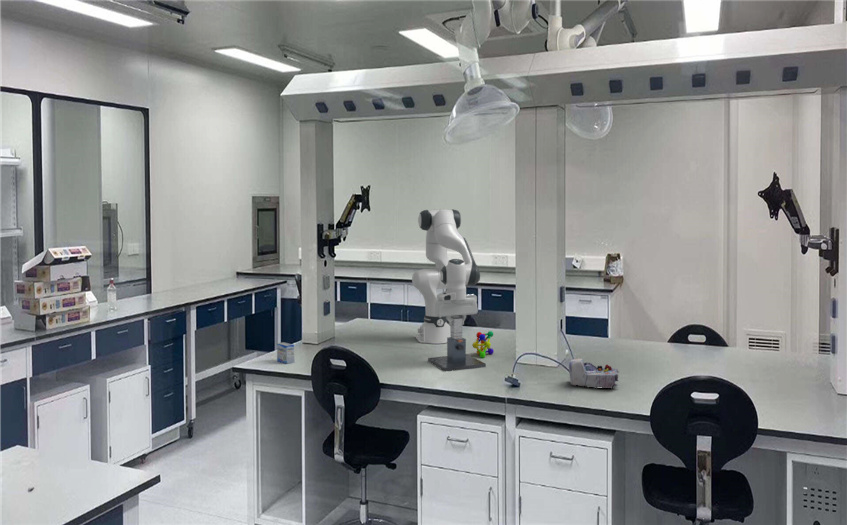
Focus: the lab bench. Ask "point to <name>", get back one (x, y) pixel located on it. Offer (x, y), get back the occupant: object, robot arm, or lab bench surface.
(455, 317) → the post
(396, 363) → the lab bench surface
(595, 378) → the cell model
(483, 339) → the molecular model
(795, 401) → the lab bench surface
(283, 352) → the medicine box
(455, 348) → the dark grey socket base
